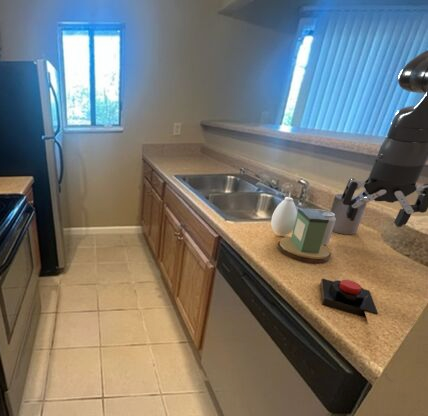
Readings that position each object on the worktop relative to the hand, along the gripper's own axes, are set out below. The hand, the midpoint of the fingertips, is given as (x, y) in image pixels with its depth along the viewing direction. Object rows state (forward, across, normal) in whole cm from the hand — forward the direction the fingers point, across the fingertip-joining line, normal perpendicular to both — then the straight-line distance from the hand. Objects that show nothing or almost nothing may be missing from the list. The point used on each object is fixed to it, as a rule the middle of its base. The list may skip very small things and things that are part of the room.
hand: (373, 222), depth 66 cm
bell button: (+17, +1, +7) cm, 18 cm away
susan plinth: (+25, +8, -17) cm, 31 cm away
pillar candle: (+30, -7, -44) cm, 54 cm away
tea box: (+23, +8, -17) cm, 30 cm away
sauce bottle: (+27, +14, -28) cm, 42 cm away
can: (+27, +3, -28) cm, 38 cm away
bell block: (+20, +1, +7) cm, 22 cm away
